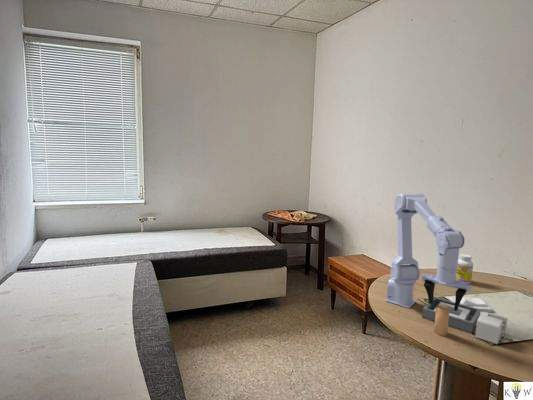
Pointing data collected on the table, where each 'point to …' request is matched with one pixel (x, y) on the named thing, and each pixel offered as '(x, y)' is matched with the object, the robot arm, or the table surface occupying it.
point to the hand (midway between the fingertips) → (443, 306)
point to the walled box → (454, 314)
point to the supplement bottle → (464, 269)
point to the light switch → (474, 303)
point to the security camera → (491, 327)
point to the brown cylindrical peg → (441, 320)
